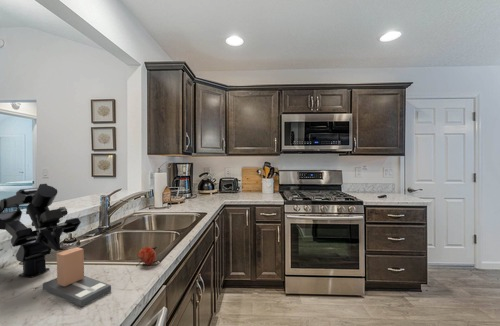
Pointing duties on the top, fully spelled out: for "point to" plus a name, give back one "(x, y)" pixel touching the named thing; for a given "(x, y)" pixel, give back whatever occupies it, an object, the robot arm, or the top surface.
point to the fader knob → (70, 266)
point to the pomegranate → (147, 255)
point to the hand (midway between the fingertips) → (58, 249)
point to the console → (78, 290)
